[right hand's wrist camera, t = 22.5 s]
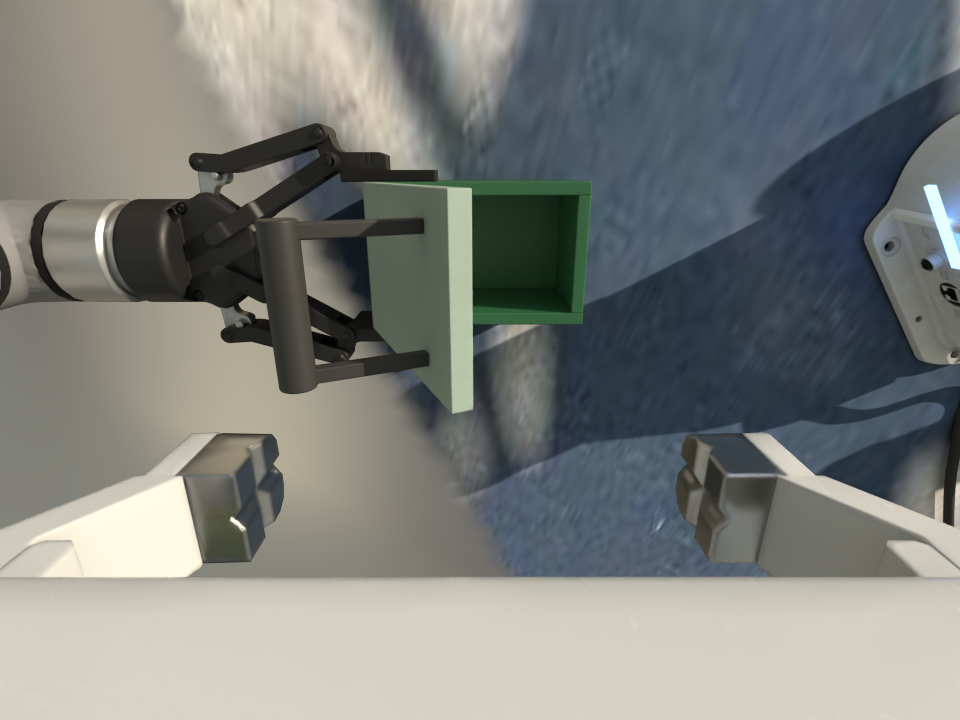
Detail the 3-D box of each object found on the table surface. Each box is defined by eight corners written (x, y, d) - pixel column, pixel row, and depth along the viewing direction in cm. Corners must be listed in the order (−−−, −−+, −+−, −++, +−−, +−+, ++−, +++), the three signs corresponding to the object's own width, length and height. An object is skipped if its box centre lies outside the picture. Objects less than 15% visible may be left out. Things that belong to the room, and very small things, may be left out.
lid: (472, 188, 21) (251, 190, 17) (473, 410, 24) (289, 446, 21) (378, 182, 34) (243, 183, 30) (388, 326, 37) (267, 340, 34)
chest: (569, 179, 43) (592, 181, 34) (562, 294, 47) (582, 324, 37) (395, 180, 43) (372, 181, 34) (401, 294, 47) (382, 324, 37)
